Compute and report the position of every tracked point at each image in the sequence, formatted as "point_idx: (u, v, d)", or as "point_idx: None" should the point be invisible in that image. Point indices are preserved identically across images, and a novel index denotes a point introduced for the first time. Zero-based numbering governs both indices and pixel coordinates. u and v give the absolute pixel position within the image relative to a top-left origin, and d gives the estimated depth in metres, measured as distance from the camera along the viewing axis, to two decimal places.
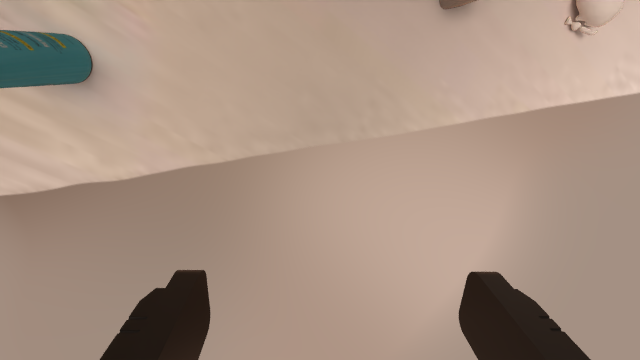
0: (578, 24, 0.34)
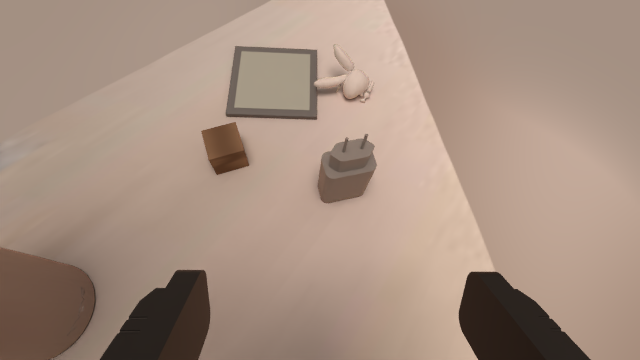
0: (366, 93, 0.44)
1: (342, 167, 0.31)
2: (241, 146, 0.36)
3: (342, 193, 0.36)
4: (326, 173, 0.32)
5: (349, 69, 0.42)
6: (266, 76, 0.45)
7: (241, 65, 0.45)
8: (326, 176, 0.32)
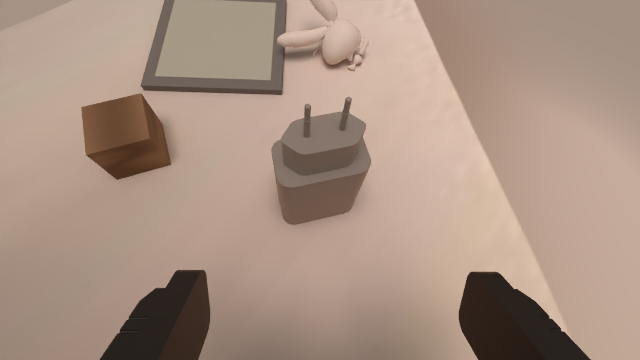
0: (357, 57, 0.30)
1: (307, 166, 0.17)
2: (145, 132, 0.22)
3: (314, 210, 0.22)
4: (278, 177, 0.17)
5: (330, 17, 0.28)
6: (208, 33, 0.30)
7: (173, 16, 0.31)
8: (279, 183, 0.18)
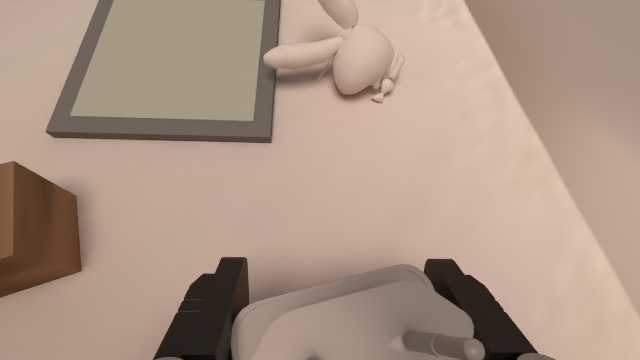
0: (387, 82, 0.19)
1: None
2: (8, 241, 0.12)
3: None
4: None
5: (347, 23, 0.18)
6: (161, 45, 0.20)
7: (110, 21, 0.21)
8: None
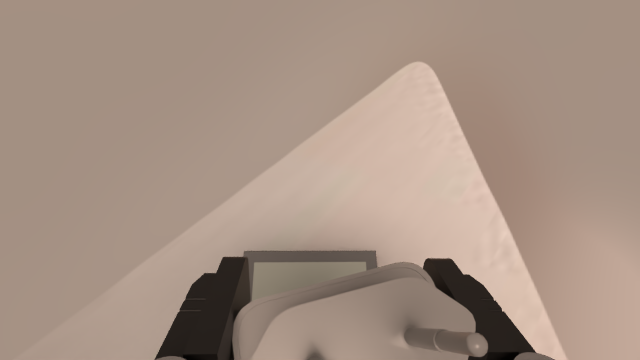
0: None
1: None
2: None
3: None
4: None
5: None
6: None
7: (255, 293, 0.27)
8: None
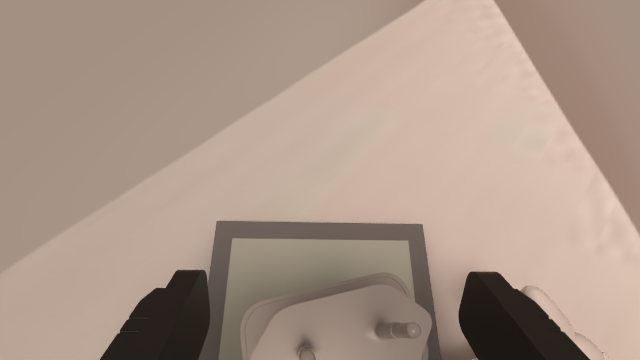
0: None
1: None
2: None
3: None
4: None
5: None
6: None
7: (231, 287, 0.17)
8: None
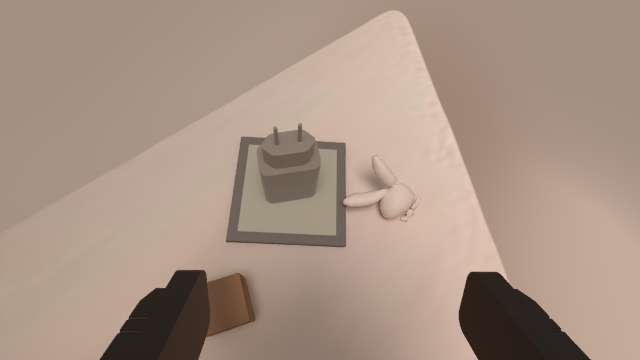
0: (410, 212, 0.34)
1: (277, 163, 0.26)
2: (246, 314, 0.26)
3: (286, 193, 0.32)
4: (259, 169, 0.27)
5: (391, 185, 0.32)
6: None
7: (248, 165, 0.35)
8: (260, 172, 0.27)
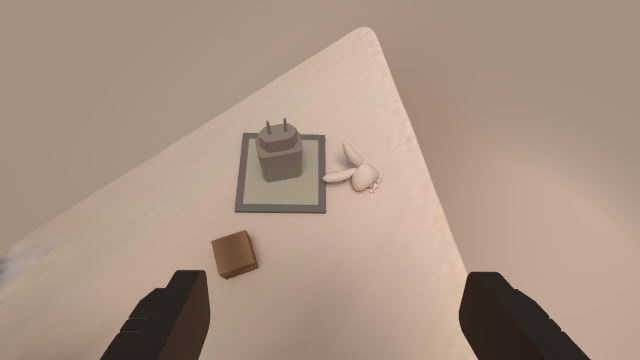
0: (375, 185, 0.44)
1: (270, 148, 0.36)
2: (251, 258, 0.36)
3: (278, 173, 0.42)
4: (258, 153, 0.37)
5: (358, 164, 0.42)
6: None
7: (249, 154, 0.45)
8: (258, 156, 0.38)
